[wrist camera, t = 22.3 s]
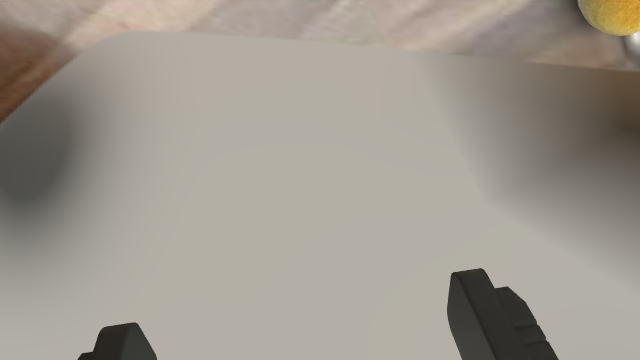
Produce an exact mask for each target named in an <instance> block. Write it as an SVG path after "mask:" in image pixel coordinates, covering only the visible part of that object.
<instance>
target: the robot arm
mask: <svg viewBox="0 0 640 360" xmlns="http://www.w3.org/2000/svg"><path fill="white" fill-rule="evenodd" d="M447 315H448V321H449V325H450V329H451V332H452V334H453V337H454V340H455V342H456V345H457V347H458V350H459V352H460V355H461V357H462V360H559V359H558V358H557V356H556V354H555V353H554V351H553V349H552V347H551V346H550V344H549V342H547V341H546V337H545V335H544V333H543V332H542V330H541V328H540V326H538V325H537V322H536V319H535V318H534V316H533V314H532V313H531V311H530V309H529V307H528V306H527V304H526V302H525V301H524V300H522V299H521V298H520V297H519V296H518V295H517V294H516V293H514V292H513V291H512V290H511V289H510V288H509V287H501V288H494V286H493V285H492V283H491V281H490V279H489V277H488V275H487V273H486V272H485V271H484V270H483V269H481V268H479V269H473V270H467V271H460V272H453V273H452V275H451V280H450V288H449V296H448V306H447ZM78 360H157V357H156V354H155V353H154V351H153V349H152V347H151V346H150V344H149V342H148V340H147V339H146V337H145V335H144V334H143V332H142V330H141V328H140V327H139V325H138V324H137V323H127V324H121V325H114V326H107V327H104V328H102V330H101V331H100V333H99V335H98V338H97V341H96V344H95V347H94V350H93V352H88V353H82V354H81V356H80V357H79V358H78Z"/></svg>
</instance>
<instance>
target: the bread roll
mask: <svg viewBox="0 0 640 360" xmlns="http://www.w3.org/2000/svg"><path fill="white" fill-rule="evenodd" d="M578 6H579V8H580V10H581V12H582V14H583V16H584V17H585V19H586V20H587V21H588V22H589V24H591V25H592V26H593V27H595V28H596V29H598V30H600V31H602V32H604V33H608V34H613V35H617V36H623V35H630V34H633V33H636V32H638V31H640V0H578Z"/></svg>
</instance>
